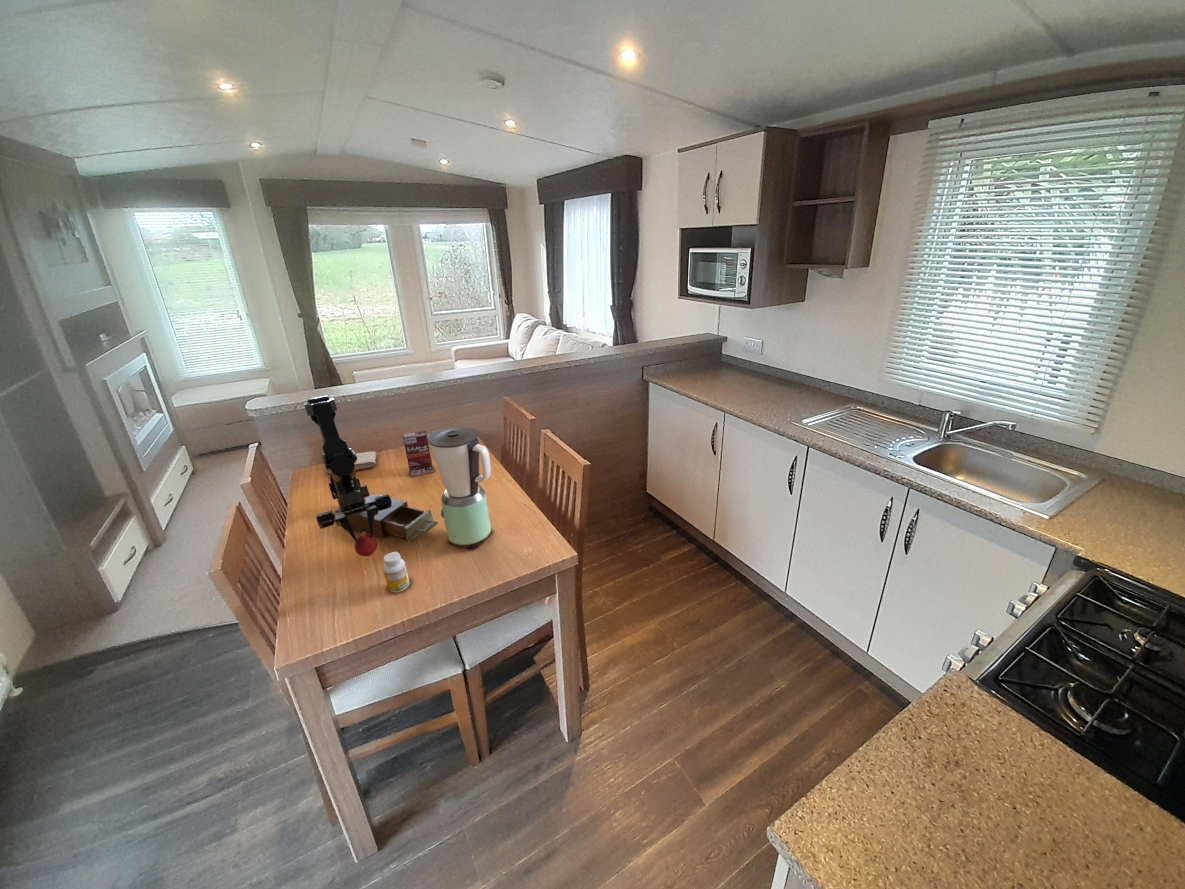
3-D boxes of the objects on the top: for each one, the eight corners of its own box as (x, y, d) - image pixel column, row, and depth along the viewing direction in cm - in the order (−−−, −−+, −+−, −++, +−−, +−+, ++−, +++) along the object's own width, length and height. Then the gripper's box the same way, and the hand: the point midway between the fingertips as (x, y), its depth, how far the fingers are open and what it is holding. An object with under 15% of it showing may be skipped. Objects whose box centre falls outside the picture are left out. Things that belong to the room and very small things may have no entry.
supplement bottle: (391, 579, 129) (384, 550, 125) (412, 578, 130) (405, 549, 125) (385, 593, 124) (377, 564, 120) (406, 592, 125) (399, 562, 121)
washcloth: (330, 462, 195) (328, 456, 194) (377, 455, 201) (375, 448, 199) (326, 475, 185) (324, 468, 184) (376, 467, 191) (374, 460, 189)
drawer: (444, 525, 151) (442, 512, 149) (421, 544, 142) (418, 531, 140) (401, 514, 157) (398, 502, 155) (376, 532, 148) (373, 519, 146)
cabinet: (410, 517, 157) (406, 501, 154) (383, 538, 147) (379, 520, 144) (377, 509, 162) (373, 493, 159) (349, 528, 152) (344, 511, 149)
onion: (371, 563, 131) (365, 540, 128) (353, 561, 132) (346, 537, 129) (384, 550, 136) (378, 527, 133) (366, 548, 137) (360, 525, 134)
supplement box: (410, 476, 182) (402, 439, 176) (409, 471, 186) (401, 434, 180) (434, 471, 185) (426, 434, 179) (432, 466, 189) (425, 430, 183)
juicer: (433, 544, 143) (411, 438, 128) (460, 520, 154) (443, 420, 139) (487, 557, 137) (470, 448, 122) (511, 531, 148) (498, 428, 133)
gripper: (306, 489, 123) (323, 545, 119) (382, 468, 132) (400, 520, 128) (312, 501, 132) (327, 554, 128) (382, 481, 141) (399, 530, 138)
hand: (364, 539), depth 130 cm, fingers closed on onion, 4 cm apart
